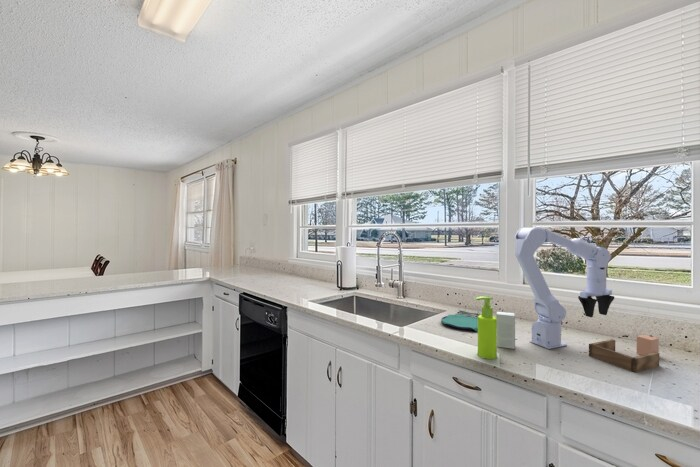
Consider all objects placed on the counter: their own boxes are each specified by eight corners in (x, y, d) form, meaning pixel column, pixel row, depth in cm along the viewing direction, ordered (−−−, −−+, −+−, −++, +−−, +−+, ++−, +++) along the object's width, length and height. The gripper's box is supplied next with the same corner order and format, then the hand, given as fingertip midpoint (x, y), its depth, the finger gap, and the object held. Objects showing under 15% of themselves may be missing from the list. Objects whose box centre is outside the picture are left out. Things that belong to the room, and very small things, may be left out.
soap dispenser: (471, 352, 109) (471, 295, 108) (490, 351, 109) (490, 294, 109) (480, 359, 103) (480, 299, 102) (500, 358, 103) (500, 298, 103)
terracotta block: (651, 358, 103) (651, 340, 103) (636, 353, 107) (636, 336, 107) (658, 356, 104) (658, 338, 104) (643, 351, 108) (644, 334, 108)
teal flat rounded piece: (434, 326, 138) (434, 321, 138) (456, 312, 162) (456, 307, 162) (482, 336, 126) (482, 330, 126) (498, 319, 150) (498, 314, 150)
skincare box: (514, 345, 115) (514, 312, 115) (515, 349, 111) (515, 316, 111) (496, 342, 117) (496, 311, 117) (496, 346, 114) (496, 314, 113)
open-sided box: (634, 372, 93) (635, 359, 93) (588, 355, 105) (588, 343, 105) (659, 366, 97) (659, 353, 97) (612, 350, 109) (612, 339, 109)
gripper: (594, 282, 109) (594, 320, 110) (621, 279, 114) (621, 316, 115) (574, 278, 116) (574, 315, 116) (600, 276, 121) (600, 311, 121)
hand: (596, 315), depth 116 cm, fingers open, 7 cm apart
